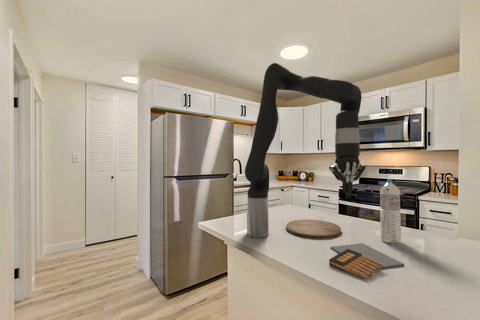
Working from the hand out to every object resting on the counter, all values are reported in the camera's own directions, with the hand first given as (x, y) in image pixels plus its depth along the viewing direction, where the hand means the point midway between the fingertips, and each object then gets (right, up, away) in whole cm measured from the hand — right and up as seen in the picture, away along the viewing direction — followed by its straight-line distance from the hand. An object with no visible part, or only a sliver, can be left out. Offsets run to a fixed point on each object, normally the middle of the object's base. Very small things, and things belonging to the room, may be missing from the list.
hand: (347, 193), depth 78 cm
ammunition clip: (-4, -21, -1) cm, 21 cm away
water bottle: (+24, -22, +14) cm, 36 cm away
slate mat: (+6, -22, +1) cm, 23 cm away
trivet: (-2, -23, +32) cm, 39 cm away
